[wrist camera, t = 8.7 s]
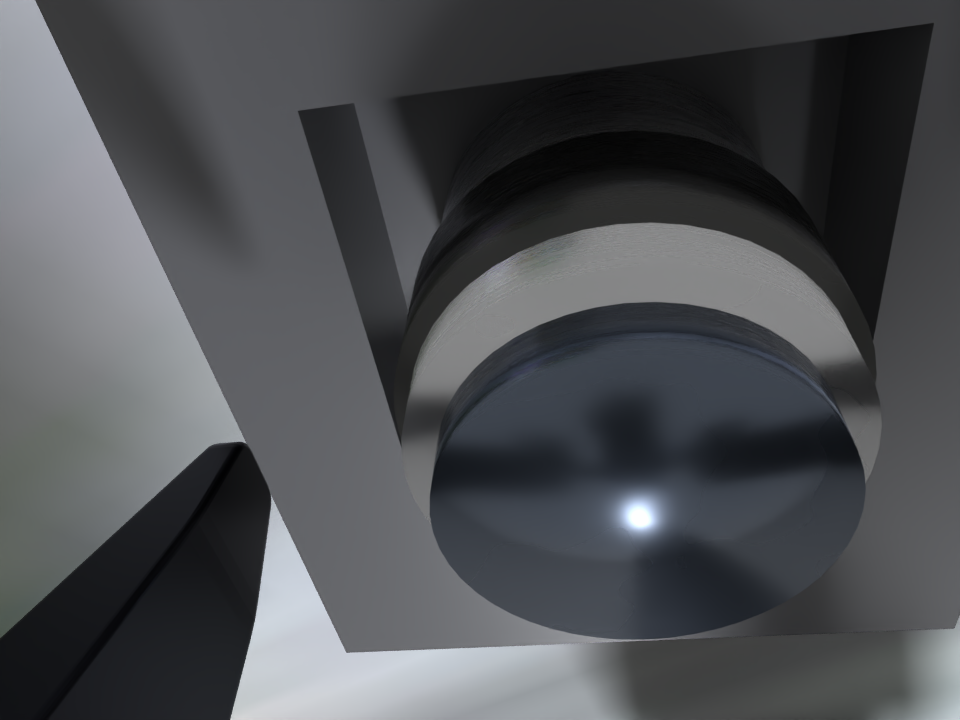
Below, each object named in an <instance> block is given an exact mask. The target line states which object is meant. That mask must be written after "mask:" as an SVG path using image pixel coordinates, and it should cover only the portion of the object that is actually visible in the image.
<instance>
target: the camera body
mask: <svg viewBox="0 0 960 720" xmlns="http://www.w3.org/2000/svg"><path fill="white" fill-rule="evenodd" d="M35 1H36V3H37V5H38V7H39V9H40V11H41V13H42V15H43V17H44V20H45V22H46V24H47V26H48V28H49V30H50V32H51V34H52V36H53V38H54V40H55V43H56V45H57V47H58V49H59V51H60V53H61V55H62V57H63V59H64V61H65V64H66V66H67V68H68V70H69V72H70V74H71V76H72V78H73V80H74V82H75V85H76V87H77V89H78V91H79V93H80V95H81V97H82V99H83V101H84V103H85V105H86V108H87V110H88V112H89V114H90V116H91V118H92V120H93V122H94V124H95V126H96V129H97V131H98V133H99V135H100V137H101V139H102V141H103V143H104V145H105V147H106V149H107V152H108V154H109V156H110V158H111V160H112V162H113V164H114V166H115V168H116V170H117V173H118V175H119V177H120V179H121V181H122V183H123V185H124V187H125V189H126V191H127V194H128V196H129V198H130V200H131V202H132V204H133V206H134V208H135V210H136V212H137V214H138V217H139V219H140V221H141V223H142V225H143V227H144V229H145V231H146V233H147V235H148V238H149V240H150V242H151V244H152V246H153V248H154V250H155V252H156V254H157V256H158V259H159V261H160V263H161V265H162V267H163V269H164V271H165V273H166V275H167V277H168V279H169V282H170V284H171V286H172V288H173V290H174V292H175V294H176V296H177V298H178V300H179V303H180V305H181V307H182V309H183V311H184V313H185V315H186V317H187V319H188V321H189V324H190V326H191V328H192V330H193V332H194V334H195V336H196V338H197V340H198V342H199V344H200V347H201V349H202V351H203V353H204V355H205V357H206V359H207V361H208V363H209V365H210V368H211V370H212V372H213V374H214V376H215V378H216V380H217V382H218V384H219V386H220V389H221V391H222V393H223V395H224V397H225V399H226V401H227V403H228V405H229V407H230V409H231V412H232V414H233V416H234V418H235V420H236V422H237V424H238V426H239V428H240V430H241V433H242V435H243V437H244V439H245V441H246V443H247V445H248V446H249V447H250V448H251V450H252V452H253V454H254V456H255V458H256V460H257V462H258V464H259V466H260V469H261V471H262V473H263V475H264V477H265V479H266V481H267V483H268V486H269V489H270V493H271V495H272V498H273V500H274V502H275V504H276V506H277V508H278V510H279V512H280V514H281V516H282V519H283V521H284V523H285V525H286V527H287V529H288V531H289V533H290V535H291V537H292V539H293V542H294V544H295V546H296V548H297V550H298V552H299V554H300V556H301V558H302V560H303V563H304V565H305V567H306V569H307V571H308V573H309V575H310V577H311V579H312V581H313V584H314V586H315V588H316V590H317V592H318V594H319V596H320V598H321V600H322V602H323V604H324V607H325V609H326V611H327V613H328V615H329V617H330V619H331V621H332V623H333V625H334V628H335V630H336V632H337V634H338V636H339V638H340V640H341V642H342V644H343V646H344V649H345V651H346V653H350V652H375V651H400V650H425V649H450V648H475V647H500V646H526V645H551V644H576V643H601V642H626V641H651V640H676V639H702V638H727V637H752V636H777V635H802V634H827V633H852V632H877V631H903V630H928V629H953V628H955V625H956V623H957V620H958V617H959V615H960V0H35ZM610 71H625V72H640V73H646V74H651V75H656V76H660V77H665V78H668V79H670V80H673V81H676V82H679V83H682V84H685V85H687V86H689V87H691V88H693V89H695V90H697V91H699V92H700V93H702V94H704V95H706V96H707V97H709V98H710V99H712V100H713V101H714V102H716V103H717V104H718V105H720V106H721V107H723V108H724V109H725V110H726V111H727V112H728V113H729V114H730V115H731V116H732V117H733V118H734V119H735V120H736V121H737V122H738V123H739V125H740V126H741V127H742V129H743V130H744V131H745V133H746V134H747V136H748V137H749V138H750V140H751V142H752V143H753V145H754V147H755V149H756V151H757V153H758V155H759V157H760V159H761V161H762V163H763V165H764V167H765V169H766V171H767V172H769V173H770V174H772V175H773V176H774V177H776V178H777V179H778V180H779V181H780V182H781V183H782V184H783V185H784V186H785V187H786V188H787V189H788V190H789V191H790V192H791V193H792V194H793V195H794V196H795V197H796V198H797V200H798V201H799V202H800V204H801V205H802V206H803V208H804V209H805V210H806V212H807V213H808V215H809V216H810V217H811V219H812V221H813V223H814V225H815V226H816V228H817V230H818V232H819V234H820V235H821V237H822V239H823V241H824V243H825V244H826V246H827V248H828V250H829V252H830V253H831V255H832V257H833V259H834V261H835V262H836V264H837V266H838V268H839V270H840V272H841V273H842V275H843V277H844V279H845V281H846V282H847V284H848V286H849V288H850V290H851V291H852V293H853V295H854V297H855V299H856V300H857V302H858V304H859V306H860V309H861V311H862V313H863V315H864V317H865V319H866V321H867V323H868V325H869V329H870V333H871V336H872V340H873V344H874V347H875V357H876V371H877V376H876V385H875V386H876V389H877V393H878V397H879V400H880V407H881V421H882V429H881V437H880V445H879V450H878V454H877V457H876V460H875V463H874V466H873V469H872V472H871V474H870V476H869V478H868V480H867V482H866V483H865V485H866V493H865V501H864V509H863V512H862V515H861V518H860V521H859V524H858V527H857V529H856V531H855V533H854V535H853V537H852V539H851V541H850V542H849V544H848V546H847V547H846V549H845V550H844V551H843V553H842V554H841V555H840V556H839V558H838V559H837V560H836V562H835V563H834V564H833V565H832V566H831V567H830V568H829V569H828V570H827V571H826V572H825V573H824V574H823V575H822V576H821V577H820V578H818V579H817V580H816V581H815V582H813V583H812V584H811V585H810V586H808V587H807V588H806V589H804V590H803V591H802V592H800V593H798V594H797V595H795V596H794V597H792V598H790V599H789V600H787V601H786V602H784V603H782V604H780V605H778V606H776V607H774V608H772V609H770V610H768V611H766V612H764V613H762V614H760V615H757V616H755V617H752V618H749V619H747V620H744V621H742V622H739V623H736V624H732V625H729V626H726V627H723V628H719V629H715V630H711V631H706V632H702V633H697V634H692V635H685V636H679V637H672V638H660V639H645V640H636V639H608V638H596V637H590V636H583V635H576V634H571V633H567V632H563V631H558V630H554V629H550V628H547V627H544V626H541V625H538V624H535V623H532V622H529V621H527V620H525V619H522V618H520V617H517V616H515V615H513V614H510V613H509V612H507V611H505V610H503V609H501V608H500V607H498V606H496V605H494V604H492V603H491V602H489V601H488V600H486V599H485V598H484V597H482V596H481V595H479V594H478V593H476V592H475V591H474V590H473V589H472V588H471V587H470V586H469V585H467V584H466V583H465V582H464V581H463V580H462V579H461V578H460V577H459V576H458V575H457V573H456V572H455V571H454V570H453V569H452V567H451V566H450V565H449V564H448V562H447V560H446V559H445V557H444V555H443V554H442V552H441V550H440V549H439V546H438V544H437V541H436V539H435V536H434V534H433V530H432V525H431V524H430V522H429V521H428V520H427V519H426V518H425V516H424V515H423V513H422V511H421V510H420V508H419V506H418V505H417V503H416V501H415V500H414V497H413V495H412V492H411V490H410V487H409V485H408V482H407V480H406V476H405V471H404V466H403V461H402V441H401V437H400V434H399V431H398V426H397V421H396V417H395V412H394V381H395V375H396V368H397V362H398V357H399V353H400V348H401V344H402V339H403V334H404V330H405V325H406V321H407V316H408V311H409V307H410V302H411V298H412V293H413V289H414V284H415V279H416V276H417V273H418V270H419V267H420V264H421V260H422V257H423V255H424V253H425V251H426V249H427V247H428V245H429V243H430V241H431V239H432V237H433V235H434V234H435V232H436V231H437V229H438V228H439V227H440V225H441V223H442V218H443V213H444V207H445V202H446V197H447V192H448V189H449V186H450V183H451V180H452V177H453V174H454V172H455V170H456V168H457V166H458V164H459V162H460V160H461V158H462V156H463V154H464V153H465V151H466V150H467V148H468V147H469V145H470V144H471V142H472V141H473V139H474V138H475V137H476V136H477V135H478V134H479V133H480V131H481V130H482V129H483V128H484V127H485V126H486V125H487V124H488V123H489V122H490V121H491V120H492V119H493V118H494V117H496V116H497V115H498V114H499V113H500V112H501V111H503V110H504V109H505V108H506V107H508V106H509V105H511V104H512V103H514V102H515V101H517V100H518V99H520V98H522V97H523V96H525V95H527V94H529V93H531V92H533V91H535V90H537V89H539V88H541V87H543V86H545V85H548V84H551V83H554V82H557V81H560V80H563V79H566V78H569V77H573V76H578V75H583V74H588V73H595V72H610Z"/></svg>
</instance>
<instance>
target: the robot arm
mask: <svg viewBox="0 0 960 720" xmlns="http://www.w3.org/2000/svg"><path fill="white" fill-rule="evenodd" d="M270 510H271V493H270V489H269V486H268V483H267V481H266V479H265V477H264V475H263V473H262V471H261V469H260V466H259V464H258V462H257V460H256V458H255V456H254V454H253V452H252V450H251V448H250V447H249V446H248V445H247V444H246V443H243V442H232V443H219V444H214V445H212V446H210V447H208V448H207V449H206V450H205V451H204V452H203V453H202V454H200V455H199V456H198V457H197V458H196V459H195V460H194V461H193V462H192V463H191V464H190V465H188V466H187V467H186V468H185V469H184V470H183V471H182V472H181V473H180V474H179V475H178V476H177V477H175V478H174V479H173V480H172V481H171V482H170V483H169V484H168V485H167V486H166V487H165V488H163V489H162V490H161V491H160V492H159V493H158V494H157V495H156V496H155V497H154V498H153V499H151V500H150V501H149V502H148V503H147V504H146V505H145V506H144V507H143V508H142V509H141V510H140V511H138V512H137V513H136V514H135V515H134V516H133V517H132V518H131V519H130V520H129V521H128V522H126V523H125V524H124V525H123V526H122V527H121V528H120V529H119V530H118V531H117V532H116V533H114V534H113V535H112V536H111V537H110V538H109V539H108V540H107V541H106V542H105V543H104V544H102V545H101V546H100V547H99V548H98V549H97V550H96V551H95V552H94V553H93V554H92V555H91V556H89V557H88V558H87V559H86V560H85V561H84V562H83V563H82V564H81V565H80V566H79V567H77V568H76V569H75V570H74V571H73V572H72V573H71V574H70V575H69V576H68V577H67V578H65V579H64V580H63V581H62V582H61V583H60V584H59V585H58V586H57V587H56V588H55V589H54V590H52V591H51V592H50V593H49V594H48V595H47V596H46V597H45V598H44V599H43V600H42V601H40V602H39V603H38V604H37V605H36V606H35V607H34V608H33V609H32V610H31V611H30V612H28V613H27V614H26V615H25V616H24V617H23V618H22V619H21V620H20V621H19V622H18V623H17V624H15V625H14V626H13V627H12V628H11V629H10V630H9V631H8V632H7V633H6V634H5V635H3V636H2V637H1V638H0V720H230V718H231V714H232V710H233V706H234V702H235V698H236V694H237V690H238V687H239V683H240V679H241V675H242V671H243V667H244V663H245V659H246V655H247V651H248V647H249V643H250V639H251V635H252V631H253V626H254V622H255V616H256V610H257V604H258V598H259V591H260V583H261V576H262V569H263V561H264V554H265V547H266V540H267V532H268V525H269V518H270Z"/></svg>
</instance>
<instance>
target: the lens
mask: <svg viewBox="0 0 960 720" xmlns="http://www.w3.org/2000/svg"><path fill="white" fill-rule="evenodd" d="M876 376H877V371H876V357H875V347H874V344H873V340H872V336H871V333H870V329H869V325H868V323H867V321H866V319H865V317H864V315H863V313H862V311H861V309H860V306H859V304H858V302H857V300H856V299H855V297H854V295H853V293H852V291H851V290H850V288H849V286H848V284H847V282H846V281H845V279H844V277H843V275H842V273H841V272H840V270H839V268H838V266H837V264H836V262H835V261H834V259H833V257H832V255H831V253H830V252H829V250H828V248H827V246H826V244H825V243H824V241H823V239H822V237H821V235H820V234H819V232H818V230H817V228H816V226H815V225H814V223H813V221H812V219H811V217H810V216H809V215H808V213H807V212H806V210H805V209H804V208H803V206H802V205H801V204H800V202H799V201H798V200H797V198H796V197H795V196H794V195H793V194H792V193H791V192H790V191H789V190H788V189H787V188H786V187H785V186H784V185H783V184H782V183H781V182H780V181H779V180H778V179H777V178H776V177H774V176H773V175H772V174H770V173H769V172H767V171H766V169H765V167H764V165H763V163H762V161H761V159H760V157H759V155H758V153H757V151H756V149H755V147H754V145H753V143H752V142H751V140H750V138H749V137H748V136H747V134H746V133H745V131H744V130H743V129H742V127H741V126H740V125H739V123H738V122H737V121H736V120H735V119H734V118H733V117H732V116H731V115H730V114H729V113H728V112H727V111H726V110H725V109H724V108H723V107H721V106H720V105H718V104H717V103H716V102H714V101H713V100H712V99H710V98H709V97H707V96H706V95H704V94H702V93H700V92H699V91H697V90H695V89H693V88H691V87H689V86H687V85H685V84H682V83H679V82H676V81H673V80H670V79H668V78H665V77H660V76H656V75H651V74H646V73H640V72H625V71H610V72H595V73H588V74H583V75H578V76H573V77H569V78H566V79H563V80H560V81H557V82H554V83H551V84H548V85H545V86H543V87H541V88H539V89H537V90H535V91H533V92H531V93H529V94H527V95H525V96H523V97H522V98H520V99H518V100H517V101H515V102H514V103H512V104H511V105H509V106H508V107H506V108H505V109H504V110H503V111H501V112H500V113H499V114H498V115H497V116H496V117H494V118H493V119H492V120H491V121H490V122H489V123H488V124H487V125H486V126H485V127H484V128H483V129H482V130H481V131H480V133H479V134H478V135H477V136H476V137H475V138H474V139H473V141H472V142H471V144H470V145H469V147H468V148H467V150H466V151H465V153H464V154H463V156H462V158H461V160H460V162H459V164H458V166H457V168H456V170H455V172H454V174H453V177H452V180H451V183H450V186H449V189H448V192H447V197H446V202H445V207H444V213H443V218H442V223H441V225H440V227H439V228H438V229H437V231H436V232H435V234H434V235H433V237H432V239H431V241H430V243H429V245H428V247H427V249H426V251H425V253H424V255H423V257H422V260H421V264H420V267H419V270H418V273H417V276H416V279H415V284H414V289H413V293H412V298H411V302H410V307H409V311H408V316H407V321H406V325H405V330H404V334H403V339H402V344H401V348H400V353H399V357H398V362H397V368H396V375H395V381H394V412H395V417H396V421H397V426H398V431H399V434H400V437H401V441H402V461H403V466H404V471H405V476H406V480H407V482H408V485H409V487H410V490H411V492H412V495H413V497H414V500H415V501H416V503H417V505H418V506H419V508H420V510H421V511H422V513H423V515H424V516H425V518H426V519H427V520H428V521H429V522H430V524H431V525H432V530H433V534H434V536H435V539H436V541H437V544H438V546H439V549H440V550H441V552H442V554H443V555H444V557H445V559H446V560H447V562H448V564H449V565H450V566H451V567H452V569H453V570H454V571H455V572H456V573H457V575H458V576H459V577H460V578H461V579H462V580H463V581H464V582H465V583H466V584H467V585H469V586H470V587H471V588H472V589H473V590H474V591H475V592H476V593H478V594H479V595H481V596H482V597H484V598H485V599H486V600H488V601H489V602H491V603H492V604H494V605H496V606H498V607H500V608H501V609H503V610H505V611H507V612H509V613H510V614H513V615H515V616H517V617H520V618H522V619H525V620H527V621H529V622H532V623H535V624H538V625H541V626H544V627H547V628H550V629H554V630H558V631H563V632H567V633H571V634H576V635H583V636H590V637H596V638H608V639H636V640H645V639H660V638H672V637H679V636H685V635H692V634H697V633H702V632H706V631H711V630H715V629H719V628H723V627H726V626H729V625H732V624H736V623H739V622H742V621H744V620H747V619H749V618H752V617H755V616H757V615H760V614H762V613H764V612H766V611H768V610H770V609H772V608H774V607H776V606H778V605H780V604H782V603H784V602H786V601H787V600H789V599H790V598H792V597H794V596H795V595H797V594H798V593H800V592H802V591H803V590H804V589H806V588H807V587H808V586H810V585H811V584H812V583H813V582H815V581H816V580H817V579H818V578H820V577H821V576H822V575H823V574H824V573H825V572H826V571H827V570H828V569H829V568H830V567H831V566H832V565H833V564H834V563H835V562H836V560H837V559H838V558H839V556H840V555H841V554H842V553H843V551H844V550H845V549H846V547H847V546H848V544H849V542H850V541H851V539H852V537H853V535H854V533H855V531H856V529H857V527H858V524H859V521H860V518H861V515H862V512H863V509H864V501H865V493H866V485H865V483H866V482H867V480H868V478H869V476H870V474H871V472H872V469H873V466H874V463H875V460H876V457H877V454H878V450H879V445H880V437H881V429H882V421H881V407H880V400H879V397H878V393H877V389H876V386H875V385H876Z"/></svg>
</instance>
